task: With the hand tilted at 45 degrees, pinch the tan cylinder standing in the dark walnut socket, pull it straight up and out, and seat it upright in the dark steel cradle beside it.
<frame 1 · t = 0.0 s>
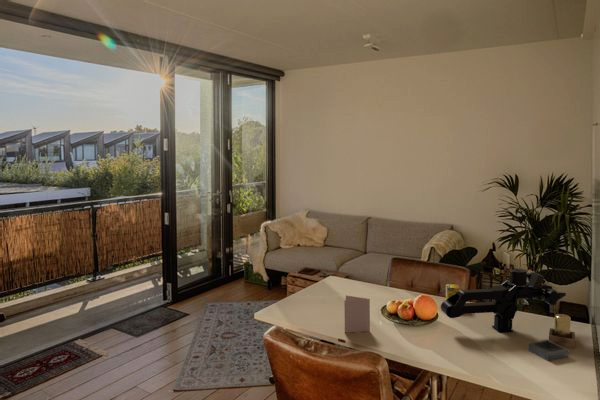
hand: (558, 290, 194), 17 cm above the table, tool horizontal, fingers open, 9 cm apart
greeting card: (355, 331, 195), on the table
supplement box: (452, 307, 223), on the table
tan cylinder: (562, 329, 180), in the walnut socket
steel cradle: (547, 353, 170), on the table
walnut socket: (561, 342, 180), on the table
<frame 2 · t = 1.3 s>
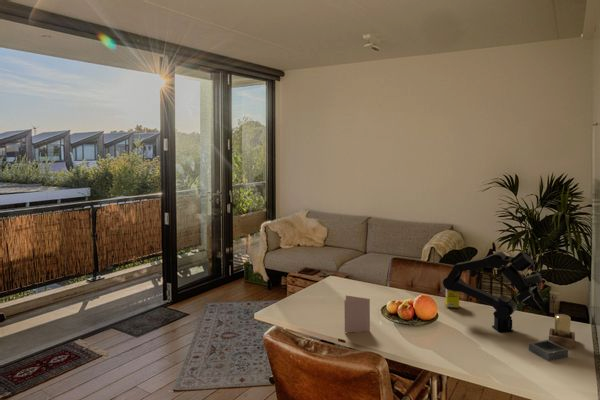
hand: (542, 307, 183), 13 cm above the table, tool tilted 45°, fingers open, 9 cm apart
nothing on the table moved.
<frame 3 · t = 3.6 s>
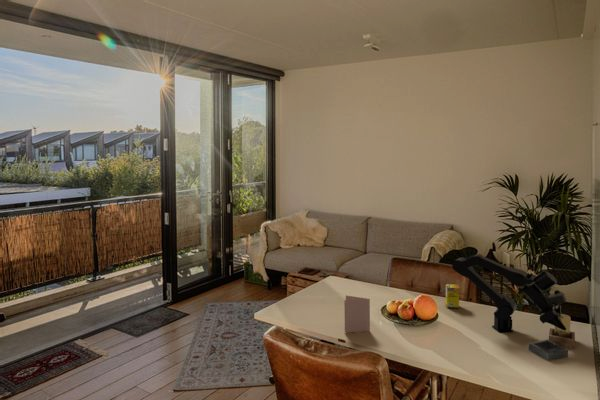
hand: (566, 327, 179), 7 cm above the table, tool tilted 45°, fingers closed on tan cylinder, 5 cm apart
tan cylinder: (562, 329, 180), in the walnut socket, touching gripper
everything else where it was.
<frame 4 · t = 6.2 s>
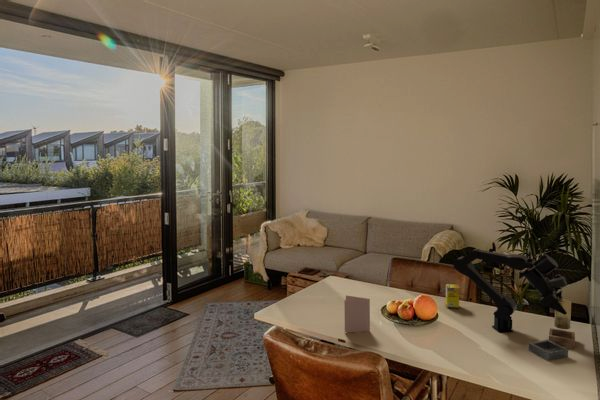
hand: (566, 311, 177), 13 cm above the table, tool tilted 45°, fingers closed on tan cylinder, 5 cm apart
tan cylinder: (562, 313, 178), point 12 cm above the table, touching gripper
everything else where it was.
when the fingers open (9 cm above the table, at t = 8.9 s): tan cylinder drops 1 cm, resting on steel cradle.
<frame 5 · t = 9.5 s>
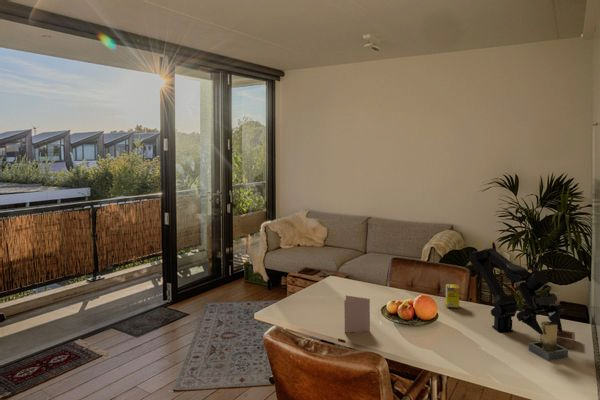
hand: (551, 332, 168), 9 cm above the table, tool tilted 45°, fingers open, 9 cm apart
tan cylinder: (548, 337, 170), in the steel cradle, point 6 cm above the table
everything else where it was.
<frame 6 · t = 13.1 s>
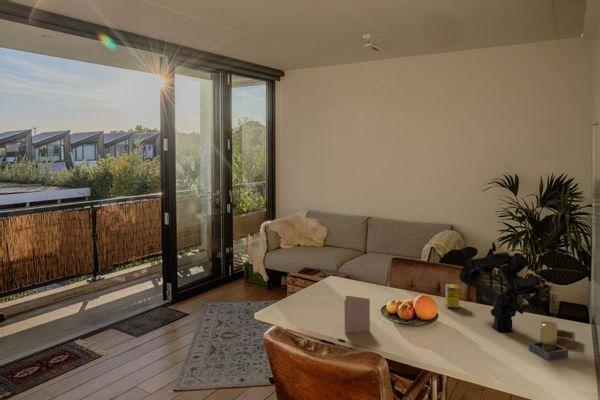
hand: (531, 312, 177), 14 cm above the table, tool tilted 45°, fingers open, 9 cm apart
nothing on the table moved.
at the end: tan cylinder 0.0 cm off-centre on the steel cradle, point 6.5 cm above the steel cradle's base; tan cylinder tilted 0°; the gripper is holding nothing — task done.
